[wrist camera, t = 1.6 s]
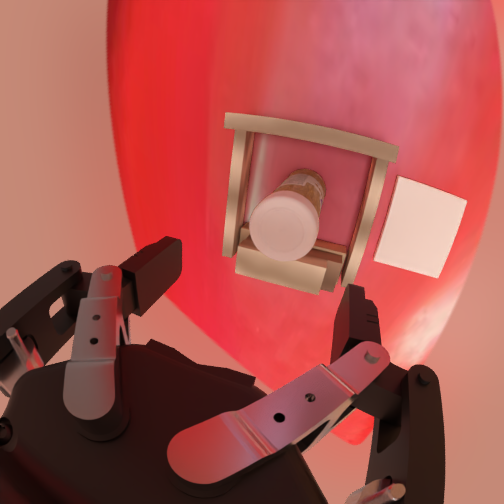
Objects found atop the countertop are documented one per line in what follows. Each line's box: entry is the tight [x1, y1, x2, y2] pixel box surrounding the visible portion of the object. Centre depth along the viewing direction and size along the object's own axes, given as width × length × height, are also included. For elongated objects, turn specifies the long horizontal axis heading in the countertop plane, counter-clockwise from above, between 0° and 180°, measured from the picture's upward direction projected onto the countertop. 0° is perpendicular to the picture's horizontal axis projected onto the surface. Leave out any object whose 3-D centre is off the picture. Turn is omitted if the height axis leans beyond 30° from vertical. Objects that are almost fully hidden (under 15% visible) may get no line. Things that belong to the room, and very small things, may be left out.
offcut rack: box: [222, 112, 399, 295], centre depth 27 cm, size 16×15×6 cm
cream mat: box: [373, 175, 467, 278], centre depth 26 cm, size 10×9×1 cm
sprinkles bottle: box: [249, 169, 326, 262], centre depth 23 cm, size 5×5×14 cm
